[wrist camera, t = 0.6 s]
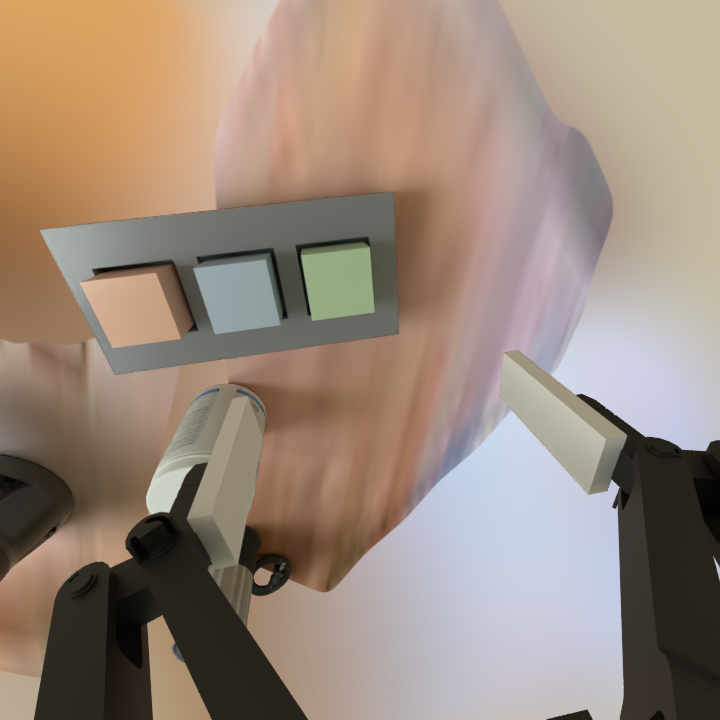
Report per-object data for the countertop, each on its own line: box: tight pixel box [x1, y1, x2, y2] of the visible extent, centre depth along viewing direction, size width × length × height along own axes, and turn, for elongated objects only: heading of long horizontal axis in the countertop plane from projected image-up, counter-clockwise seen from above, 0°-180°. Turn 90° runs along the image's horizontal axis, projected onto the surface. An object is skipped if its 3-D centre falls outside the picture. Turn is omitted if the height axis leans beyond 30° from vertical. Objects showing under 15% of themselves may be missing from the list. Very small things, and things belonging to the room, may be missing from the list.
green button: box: [301, 241, 375, 321], centre depth 31 cm, size 6×6×4 cm
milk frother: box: [172, 526, 291, 663], centre depth 50 cm, size 14×16×15 cm
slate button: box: [193, 252, 283, 334], centre depth 30 cm, size 6×6×4 cm
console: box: [40, 192, 399, 375], centre depth 34 cm, size 30×14×5 cm, turn 95°
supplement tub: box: [146, 384, 266, 515], centre depth 37 cm, size 10×10×15 cm
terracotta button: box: [79, 264, 195, 348], centre depth 30 cm, size 6×6×4 cm
